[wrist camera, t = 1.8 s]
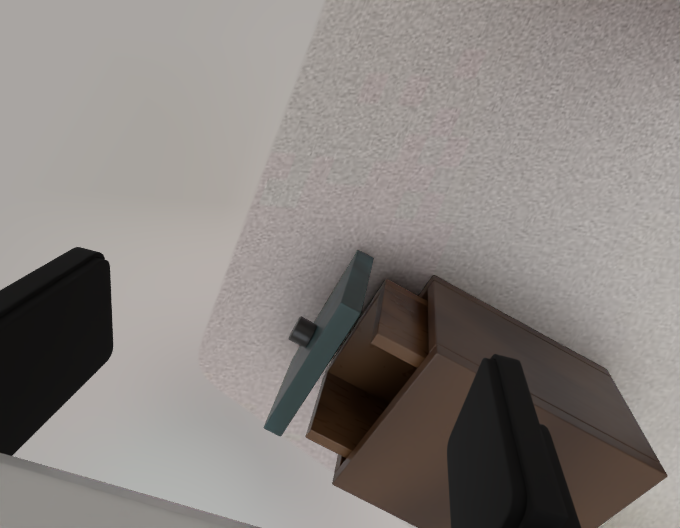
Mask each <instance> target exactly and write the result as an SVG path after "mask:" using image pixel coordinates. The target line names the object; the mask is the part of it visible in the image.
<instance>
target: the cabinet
mask: <svg viewBox="0 0 680 528" xmlns="http://www.w3.org/2000/svg"><path fill="white" fill-rule="evenodd" d="M419 297H421V298H423V299H425V300H427V301H428V339H429V354H428V356H427V357H426V358H425V359H424V361H423V362H422V363H421V365H420V366H419V367H418V368H417V370H416V371H415V372H414V373H413V375H412V376H411V377H410V378H409V380H408V381H407V382H406V384H405V385H404V386H403V387H402V389H401V390H400V391H399V392H398V394H397V395H396V396H395V398H394V399H393V400H392V401H391V403H390V404H389V405H388V406H387V408H386V409H385V410H384V411H383V413H382V414H381V415H380V417H379V418H378V419H377V420H376V422H375V423H374V424H373V425H372V427H371V428H370V429H369V431H368V432H367V433H366V434H365V436H364V437H363V438H362V439H361V441H360V442H359V443H358V445H357V446H356V447H355V448H354V450H353V451H352V452H351V453H350V455H349V456H348V457H347V458H345V457H343V456H341V455H339V454H338V457H337V462H336V467H335V472H334V473H335V474H334V478H333V482H332V484H333V485H334V486H336V487H339V488H341V489H342V490H344V491H346V492H349V493H351V494H352V495H354V496H357V497H358V498H360V499H362V500H364V501H366V502H368V503H370V504H372V505H374V506H376V507H378V508H380V509H382V510H384V511H386V512H388V513H390V514H392V515H394V516H396V517H398V518H400V519H402V520H404V521H406V522H408V523H410V524H412V525H414V526H416V527H418V528H451V518H450V501H449V484H448V466H447V445H448V440H449V437H450V435H451V432H452V430H453V428H454V425H455V423H456V420H457V418H458V416H459V413H460V411H461V409H462V406H463V404H464V402H465V399H466V397H467V394H468V392H469V390H470V387H471V385H472V383H473V380H474V378H475V375H476V373H477V371H478V368H479V366H480V364H481V361H482V360H483V358H489V359H490V358H491V357H492V356H493V354H498V355H502V356H506V357H510V358H513V359H517V360H519V361H520V362H521V365H522V368H523V371H524V375H525V378H526V381H527V384H528V388H529V391H530V394H531V397H532V401H533V404H534V407H535V410H536V414H537V417H538V420H539V423H540V424H543V425H545V426H546V427H547V428H548V430H549V432H550V434H551V437H552V440H553V443H554V446H555V449H556V452H557V455H558V458H559V461H560V464H561V467H562V470H563V474H564V477H565V480H566V483H567V486H568V489H569V492H570V495H571V498H572V501H573V504H574V507H575V510H576V513H577V516H578V519H579V522H580V525H581V528H598V527H599V526H600V525H602V524H603V523H604V522H606V521H607V520H609V519H610V518H611V517H613V516H614V515H615V514H617V513H618V512H619V511H621V510H622V509H624V508H625V507H626V506H628V505H629V504H630V503H632V502H633V501H635V500H636V499H637V498H639V497H640V496H641V495H643V494H644V493H646V492H647V491H648V490H650V489H651V488H652V487H654V486H655V485H657V484H658V483H659V482H661V481H662V480H663V479H665V478H666V477H667V474H666V472H665V470H664V469H663V467H662V465H661V464H660V462H659V460H658V458H657V456H656V455H655V453H654V451H653V449H652V448H651V446H650V444H649V442H648V441H647V439H646V437H645V435H644V433H643V432H642V430H641V428H640V426H639V425H638V423H637V421H636V419H635V418H634V416H633V414H632V412H631V411H630V409H629V407H628V405H627V404H626V402H625V400H624V398H623V397H622V395H621V393H620V391H619V390H618V388H617V386H616V384H615V383H614V381H613V379H612V378H611V375H610V374H609V372H608V370H606V369H605V368H603V367H601V366H599V365H597V364H596V363H594V362H592V361H590V360H588V359H586V358H585V357H583V356H581V355H579V354H577V353H575V352H574V351H572V350H570V349H568V348H566V347H564V346H563V345H561V344H559V343H557V342H555V341H554V340H552V339H550V338H548V337H546V336H544V335H543V334H541V333H539V332H537V331H535V330H533V329H532V328H530V327H528V326H526V325H524V324H522V323H521V322H519V321H517V320H515V319H513V318H511V317H510V316H508V315H506V314H504V313H502V312H501V311H499V310H497V309H495V308H493V307H491V306H490V305H488V304H486V303H484V302H482V301H480V300H479V299H477V298H475V297H473V296H471V295H469V294H468V293H466V292H464V291H462V290H460V289H459V288H457V287H455V286H453V285H451V284H449V283H448V282H446V281H444V280H442V279H440V278H438V277H437V276H435V275H433V276H432V278H431V279H430V280H429V282H428V283H427V285H426V286H425V287H424V289H423V290H422V292H421V293H420V294H419Z"/></svg>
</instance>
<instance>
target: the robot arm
mask: <svg viewBox="0 0 680 528" xmlns="http://www.w3.org/2000/svg"><path fill="white" fill-rule="evenodd" d="M110 283H111V281H110V265H109V262H108V261H107V260H105V258H104V256H103V254H101V253H100V252H96V251H92V250H88V249H84V248H80V247H76V248H73V249H71V250H70V251H68V252H66V253H64V254H63V255H61V256H59V257H57V258H56V259H54V260H52V261H50V262H49V263H47V264H45V265H44V266H42V267H40V268H38V269H37V270H35V271H33V272H31V273H30V274H28V275H26V276H25V277H23V278H21V279H19V280H18V281H16V282H14V283H12V284H11V285H9V286H7V287H5V288H4V289H2V290H0V528H260V527H256V526H253V525H250V524H246V523H242V522H239V521H236V520H232V519H229V518H226V517H222V516H219V515H215V514H212V513H208V512H205V511H201V510H198V509H195V508H191V507H188V506H184V505H181V504H178V503H174V502H170V501H167V500H164V499H160V498H157V497H153V496H150V495H146V494H143V493H139V492H136V491H132V490H129V489H126V488H122V487H118V486H115V485H112V484H108V483H105V482H101V481H98V480H94V479H91V478H87V477H83V476H80V475H77V474H73V473H69V472H66V471H63V470H59V469H55V468H52V467H48V466H45V465H41V464H38V463H34V462H31V461H27V460H24V459H20V458H17V457H13V456H12V455H13V454H14V453H15V452H16V451H17V450H18V449H19V448H20V447H21V446H22V445H23V444H24V443H25V442H26V441H27V440H28V439H29V438H30V437H31V436H32V435H33V434H34V433H35V432H36V431H37V430H38V429H39V428H40V427H41V426H42V425H43V424H44V423H45V422H46V421H47V420H48V419H49V418H50V417H51V416H52V415H53V414H54V413H56V412H57V410H59V409H60V408H61V407H62V405H63V404H64V403H65V402H67V401H68V399H70V398H71V396H73V395H74V393H76V392H77V391H78V390H79V389H80V388H81V387H82V386H83V385H84V384H85V383H86V382H87V381H88V380H89V379H90V378H91V377H92V376H93V375H94V374H95V373H96V372H97V371H98V370H99V369H100V368H101V366H103V365H104V364H105V363H106V362H107V361H108V359H109V358H110V356H111V354H112V351H113V329H112V305H111V284H110ZM447 466H448V484H449V501H450V518H451V528H581V525H580V522H579V519H578V516H577V513H576V510H575V507H574V504H573V501H572V498H571V495H570V492H569V489H568V486H567V483H566V480H565V477H564V474H563V470H562V467H561V464H560V461H559V458H558V455H557V452H556V449H555V446H554V443H553V440H552V437H551V434H550V432H549V430H548V428H547V427H546V426H545V425H543V424H540V423H539V420H538V417H537V414H536V410H535V407H534V404H533V401H532V397H531V394H530V391H529V388H528V384H527V381H526V378H525V375H524V371H523V368H522V365H521V362H520V361H519V360H517V359H513V358H510V357H506V356H502V355H498V354H493V356H492V357H491V358H490V359H489V358H483V360H482V361H481V364H480V366H479V368H478V371H477V373H476V375H475V378H474V380H473V383H472V385H471V387H470V390H469V392H468V394H467V397H466V399H465V402H464V404H463V406H462V409H461V411H460V413H459V416H458V418H457V420H456V423H455V425H454V428H453V430H452V432H451V435H450V437H449V440H448V445H447Z"/></svg>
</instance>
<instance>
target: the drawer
mask: <svg viewBox="0 0 680 528" xmlns="http://www.w3.org/2000/svg"><path fill="white" fill-rule="evenodd" d="M373 260H374V258H373V257H371V256H369V255H367V254H365V253H363V252H362V251H360V250H357V251H356V253H355V255H354V256H353V258H352V260H351V262H350V263H349V265H348V267H347V268H346V270H345V272H344V273H343V275H342V277H341V278H340V280H339V282H338V283H337V285H336V287H335V288H334V290H333V292H332V293H331V295H330V297H329V298H328V300H327V302H326V303H325V305H324V307H323V308H322V310H321V312H320V314H319V315H318V317H317V319H316V320H315V322H314V323H313V322H311V321H309V320H307V319H305V318H303V317H302V316H301V317H300V318H299V319H298V321H297V323H296V325H295V326H294V328H293V330H292V332H291V334H290V336H289V340H291V341H293V342H295V343H297V344H299V345H300V347H299V349H298V350H297V352H296V354H295V355H294V357H293V359H292V361H291V363H290V366H289V368H288V370H287V373H286V375H285V378H284V380H283V382H282V385H281V387H280V389H279V392H278V394H277V397H276V399H275V401H274V404H273V406H272V409H271V411H270V413H269V416H268V418H267V420H266V423H265V425H264V428H265V429H266V430H268V431H270V432H272V433H274V434H276V435H278V436H282V434H283V432H284V431H285V429H286V428H287V426H288V425H289V423H290V422H291V420H292V419H293V417H294V416H295V414H296V413H297V411H298V409H299V408H300V406H301V405H302V403H303V402H304V400H305V399H306V397H307V396H308V394H309V393H310V391H311V390H312V388H313V386H314V385H315V383H316V382H317V380H318V379H319V377H320V376H321V374H322V373H323V371H324V370H325V368H326V367H327V365H328V364H329V362H330V360H331V359H332V357H333V356H334V354H335V353H336V351H337V350H338V348H339V347H340V345H341V344H342V342H343V341H344V339H345V337H346V336H347V334H348V333H349V331H350V330H351V328H352V327H353V325H354V324H355V322H356V321H357V319H358V318H359V316H360V314H361V311H362V307H363V303H364V299H365V294H366V290H367V286H368V281H369V277H370V273H371V269H372V264H373ZM428 354H429V339H428V301H427V300H425V299H423V298H421V297H419V296H417V295H416V294H414V293H412V292H410V291H408V290H406V289H405V288H403V287H401V286H399V285H397V284H395V283H393V282H392V281H390V280H388V279H386V280H385V281H384V283H383V284H382V286H381V287H380V289H379V290H378V292H377V293H376V295H375V297H374V298H373V300H372V301H371V303H370V304H369V306H368V307H367V309H366V310H365V312H364V313H363V315H362V316H361V318H360V319H359V321H358V322H357V324H356V326H355V327H354V329H353V330H352V332H351V333H350V335H349V336H348V338H347V339H346V341H345V342H344V344H343V345H342V347H341V348H340V350H339V351H338V353H337V355H336V356H335V358H334V359H333V361H332V362H331V364H330V365H329V367H328V368H327V370H326V371H325V374H324V378H323V380H322V384H321V387H320V390H319V394H318V397H317V400H316V404H315V407H314V410H313V414H312V417H311V420H310V424H309V427H308V430H307V433H306V438H308V439H310V440H312V441H314V442H316V443H317V444H319V445H321V446H323V447H325V448H327V449H329V450H331V451H333V452H335V453H337V454H339V455H341V456H343V457H345V458H347V457H348V456H349V455H350V453H351V452H352V451H353V450H354V448H355V447H356V446H357V445H358V443H359V442H360V441H361V439H362V438H363V437H364V436H365V434H366V433H367V432H368V431H369V429H370V428H371V427H372V425H373V424H374V423H375V422H376V420H377V419H378V418H379V417H380V415H381V414H382V413H383V411H384V410H385V409H386V408H387V406H388V405H389V404H390V403H391V401H392V400H393V399H394V398H395V396H396V395H397V394H398V392H399V391H400V390H401V389H402V387H403V386H404V385H405V384H406V382H407V381H408V380H409V378H410V377H411V376H412V375H413V373H414V372H415V371H416V370H417V368H418V367H419V366H420V365H421V363H422V362H423V361H424V359H425V358H426V357H427V356H428Z"/></svg>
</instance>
